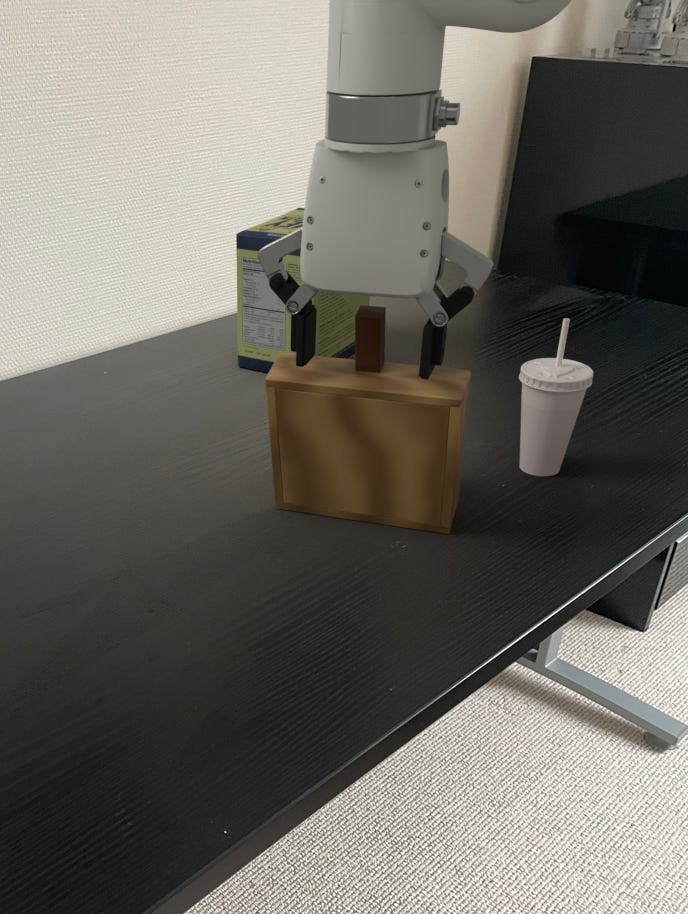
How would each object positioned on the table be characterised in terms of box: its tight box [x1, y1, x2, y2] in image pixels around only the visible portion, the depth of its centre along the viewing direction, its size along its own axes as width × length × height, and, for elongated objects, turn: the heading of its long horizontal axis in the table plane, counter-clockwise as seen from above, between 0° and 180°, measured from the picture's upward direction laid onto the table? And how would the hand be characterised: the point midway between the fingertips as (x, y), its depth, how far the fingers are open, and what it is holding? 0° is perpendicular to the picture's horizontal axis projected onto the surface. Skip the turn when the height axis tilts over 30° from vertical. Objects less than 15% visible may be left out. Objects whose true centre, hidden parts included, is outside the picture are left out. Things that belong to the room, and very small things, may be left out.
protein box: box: [235, 207, 371, 373], centre depth 118 cm, size 10×16×16 cm
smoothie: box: [518, 317, 594, 477], centre depth 90 cm, size 6×6×14 cm
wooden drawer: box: [264, 305, 472, 535], centre depth 81 cm, size 16×18×4 cm
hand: (365, 367), depth 76 cm, fingers open, 9 cm apart
